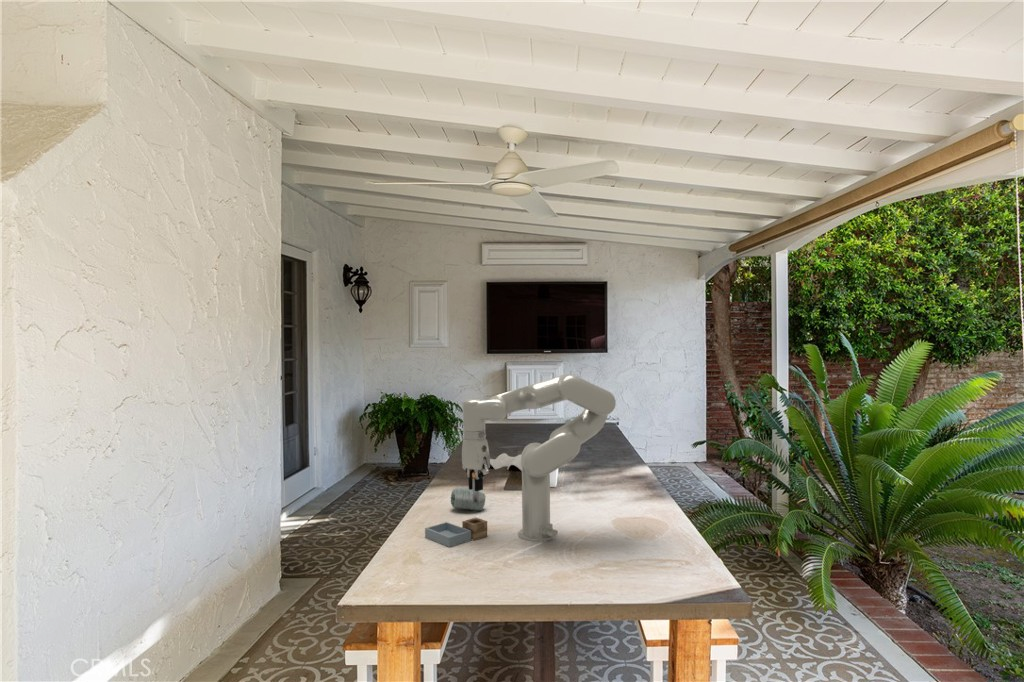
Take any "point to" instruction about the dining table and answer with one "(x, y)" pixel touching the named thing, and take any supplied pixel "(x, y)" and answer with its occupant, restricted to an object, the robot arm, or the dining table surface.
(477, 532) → the brown wooden socket block
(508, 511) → the dining table surface
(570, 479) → the dining table surface
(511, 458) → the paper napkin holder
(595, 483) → the dining table surface
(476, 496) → the lock pin
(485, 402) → the robot arm
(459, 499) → the spool
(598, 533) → the dining table surface
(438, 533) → the tray
